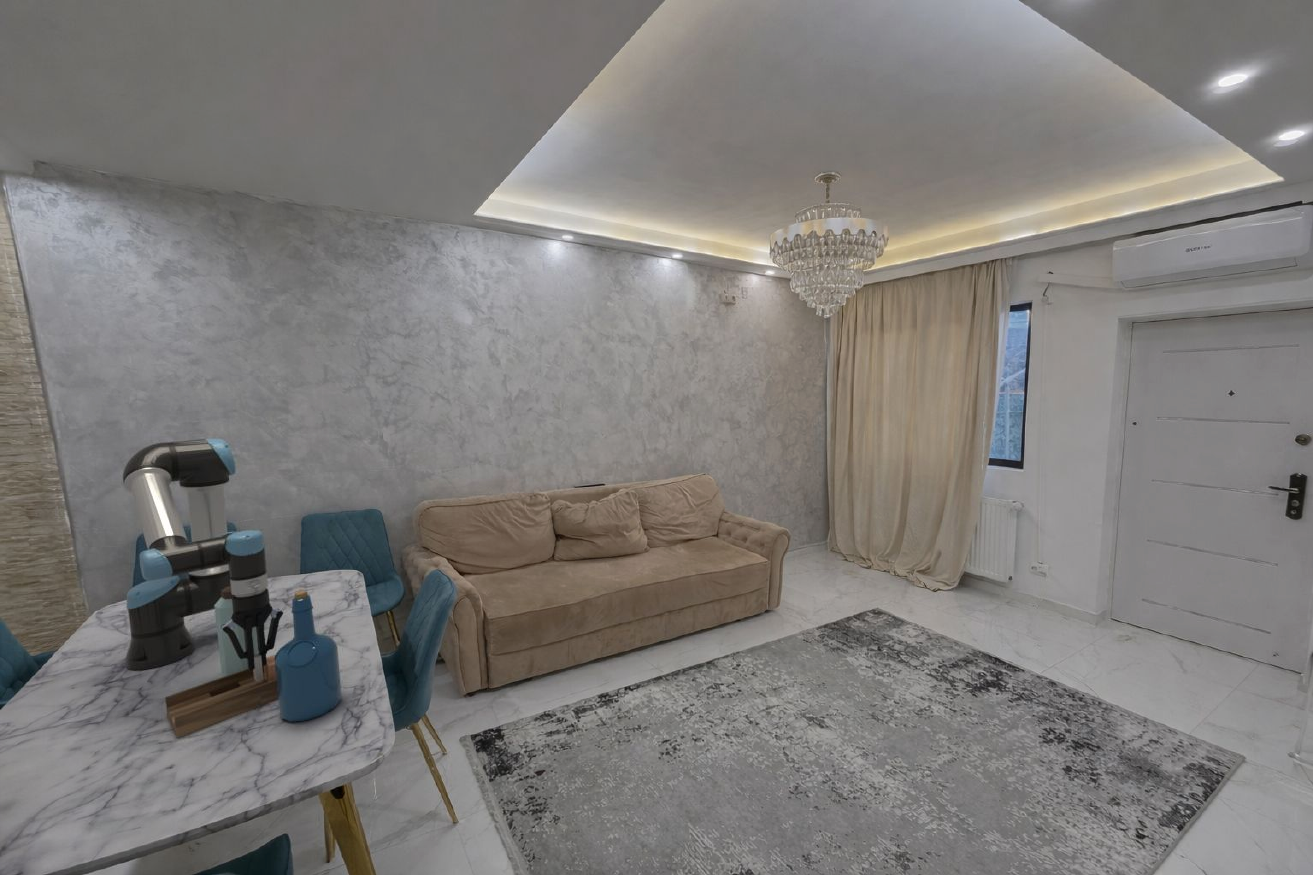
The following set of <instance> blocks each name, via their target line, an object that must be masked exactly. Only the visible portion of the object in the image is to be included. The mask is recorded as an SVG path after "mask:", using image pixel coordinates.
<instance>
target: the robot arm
mask: <svg viewBox="0 0 1313 875" xmlns="http://www.w3.org/2000/svg"><path fill="white" fill-rule="evenodd" d="M235 462H236V461H235V458H234V455H233V452H232V449H231V447H230V446H229V444H228V443H227V442H226V441H225V439H221V438H203V439H190V440H181V441H180V440H179V441H170V442H168V441H167V442H166V441H165V442H164V441H163V442H155V443H152V444H149V445H147V446H146V447H143V448H142V449H141V450H139V451H137V452H135V454H134V455H133V456H132V457H131V458H130V459H129V460H128V462H127V463H126V465H125V466H124V469H123V472H122V482H123V485H124V489H125V490H126V491H128V493H131V495H132V498H133V502H134V506H135V508H136V512H137V516H138V518H139V519H138V520H139V523H140V526H141V530H142V534H143V538H144V542H145V544H146V547H147V550H143V551H141V552H140V553H139V566H140V570H141V575H142V576H141V577H142V579H144V580H145V581H144V582H141V583H139V584H137V585H134V586H133V587H131V588H130V589H129V591H128V592H127V594H126V606H125V607H126V609H127V611H128V622H129V628H130V629H129V630H130V637H131V639H130V643H129V647H128V650H127V654H126V656H125V666H126V668H127V669H128V670H131V671H143V670H149V669H155V668H160V667H163V666H166V665H169V664H172V663H176V662H178V661H179V660H182V659H184V658H185V657H188V656H189V655H190V654H192V653H193V652H194V651H195V649H196V647H195V646H196V645H195V641H194V640H195V639H194V638H193V637H192V635H191V634H190V632H189V631H188V629H187V626H186V624H185V617H188V616H195V615H197V614H201V613H205V612H209V611H212V610H215V608H214V605H215V604H216V603H217V602H218V601H219V599H220V598H221V590H223V589H224V588H226V587H229V586H231V594H232V595H233V597H232V605H233V615H232V617H231V620H230V621H229V622H228V623H227V624H223V625H222V626H221V628H222V630H223V631H224V632H225V633H227V634H228V636H229V638H230V640H231V643H232V645H233V647H234V649H235V651H236V653H237V655H238V657H239V658H240V659H244V658H247V663H248V668H249V669H250V670H253V673H254V679H255V680H256V682H259V681H261V680H263V670H262V666H265V665H266V664H267V660H266V658H267V654H268V652H269V651H271V650H273V649H275V648H274V647H275V645H276V644H275V643H276V640H277V634H278V629H279V623H280V620H281V618H282V616H284V615H283V614H284V612H283V610H281V609H279V608H277V609H276V608H273V606H272V605H271V603H270V602H271V601H270V594H269V593H270V592H269V589H268V587H269V584H268V583H269V582H268V572H267V563H266V562H267V561H266V550H265V545H266V542H265V540H264V534H263V533H262V531H260V530H253V529H250V530H242V531H228V523H227V511H226V510H227V509H226V502H225V501H226V500H225V488H224V487H226V486H227V485H228V484H229V483H230V476H233V475H235V474H236V472H237V470H236V463H235ZM172 482H173V483H174V482H178V483H179V487H180V488H182V489H184V490H186V493H187V504H188V505H187V506H188V512H189V513H188V514H189V525H190V536H191V541H190V542H189V541H188V537H187V535H186V532H185V529H184V526H183V523H182V519H181V517H180V514H179V511H178V507H177V506H176V502H175V499H174V496H173V493H172V489H171V487H170V485H171V483H172ZM186 574H188V576H186V577H183V578H180V577H179V575H180V576H182V575H186ZM269 617H271V620H270V624H269V629H268V634H267V639H266V636H265V623H266V621H267V620H268V618H269ZM235 623H236V624H237V625H238V626H240V627H241V628H243V630H244V638H245V648H246V652H244V651H243V649H242V647H241V645H240V643H239V641H238V638H237V636H236V634H235V632H234V631H233V630H234V628H235V627H234V624H235ZM253 627H256V634H257V644H258V651H259V653H256V654H254V647H253V637H252V628H253Z"/></svg>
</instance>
